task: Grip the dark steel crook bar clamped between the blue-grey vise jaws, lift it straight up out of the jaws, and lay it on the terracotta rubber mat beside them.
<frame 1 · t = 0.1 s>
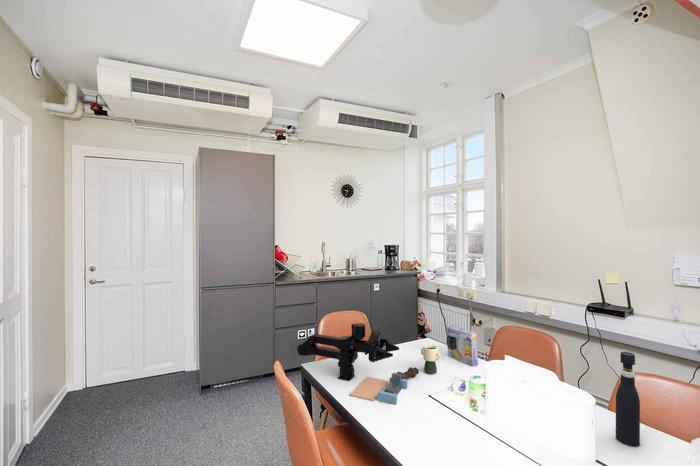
hand: (396, 351, 153), 17 cm above the table, tool horizontal, fingers open, 9 cm apart
black bottle: (627, 441, 114), on the table
mat: (370, 388, 152), on the table
brown oblong lump: (408, 379, 163), on the table
cake pan box: (461, 360, 187), on the table
vise jaws: (393, 393, 147), on the table
crook bar: (393, 394, 147), on the table
character mug: (430, 372, 170), on the table
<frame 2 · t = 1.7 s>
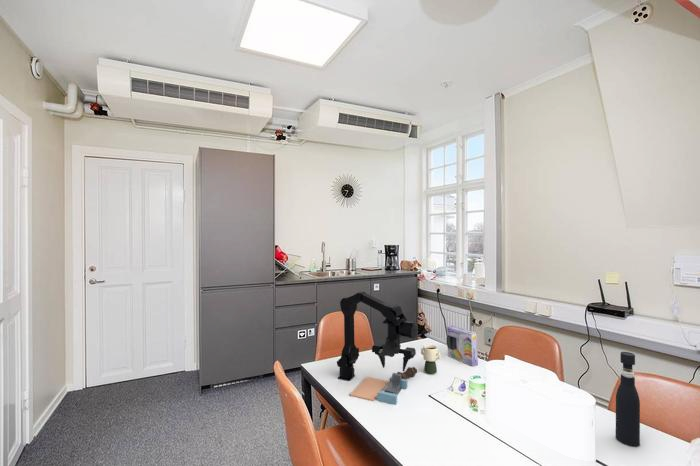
hand: (393, 369, 148), 11 cm above the table, tool pointing down, fingers open, 9 cm apart
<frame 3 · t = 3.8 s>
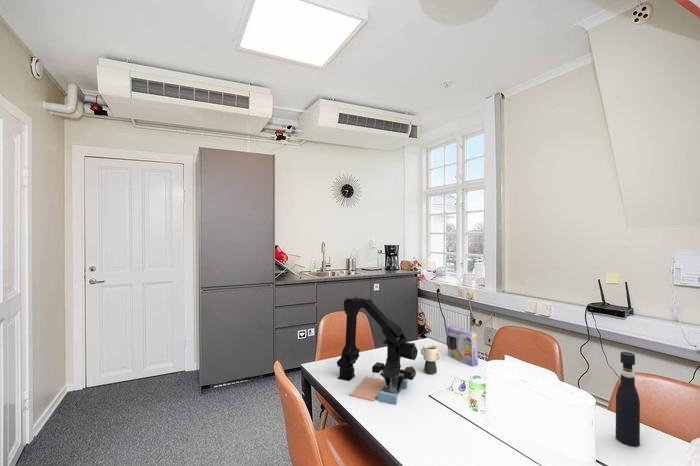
hand: (393, 389, 148), 2 cm above the table, tool pointing down, fingers closed on crook bar, 4 cm apart
crook bar: (393, 394, 147), on the table, touching gripper
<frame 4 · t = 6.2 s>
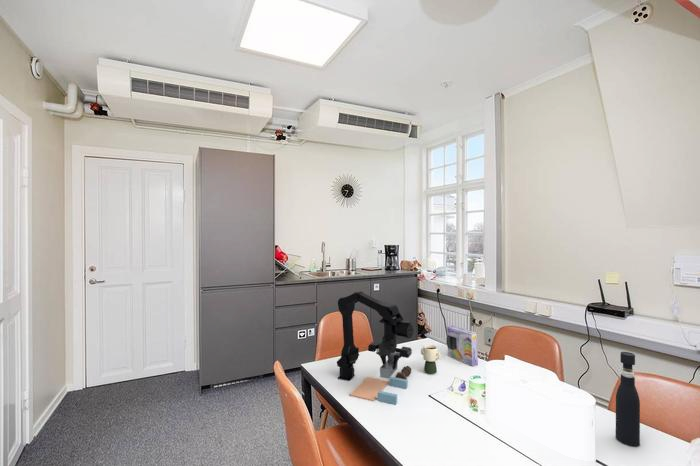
hand: (389, 368, 149), 11 cm above the table, tool pointing down, fingers closed on crook bar, 4 cm apart
crook bar: (388, 372, 148), point 9 cm above the table, touching gripper
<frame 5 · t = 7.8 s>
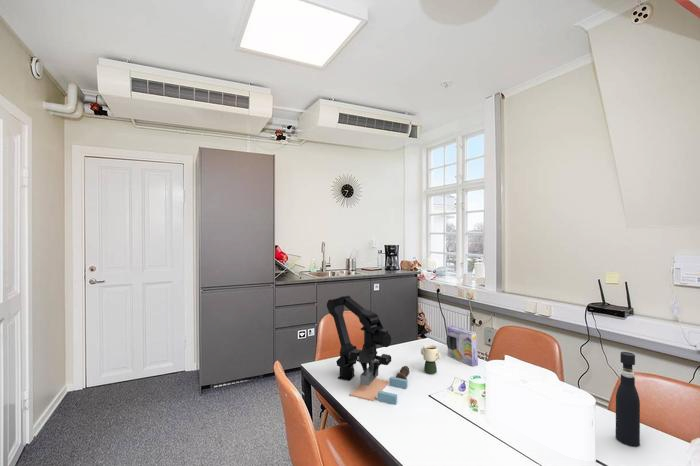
hand: (370, 375, 152), 6 cm above the table, tool pointing down, fingers closed on crook bar, 4 cm apart
crook bar: (369, 379, 152), point 4 cm above the table, touching gripper
when the fingers open (3 cm above the table, at t = 9.0 s): crook bar drops 1 cm, resting on mat.
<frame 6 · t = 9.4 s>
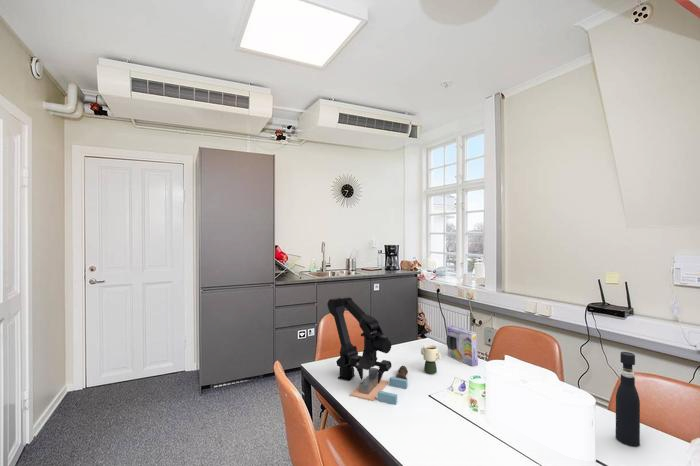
hand: (370, 381, 152), 3 cm above the table, tool pointing down, fingers open, 8 cm apart
crook bar: (369, 388, 152), point 1 cm above the table, touching mat
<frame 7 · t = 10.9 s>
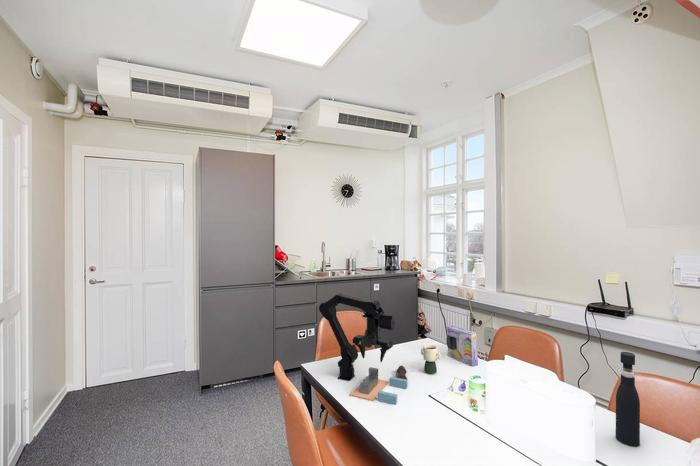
hand: (372, 360, 158), 11 cm above the table, tool pointing down, fingers open, 9 cm apart
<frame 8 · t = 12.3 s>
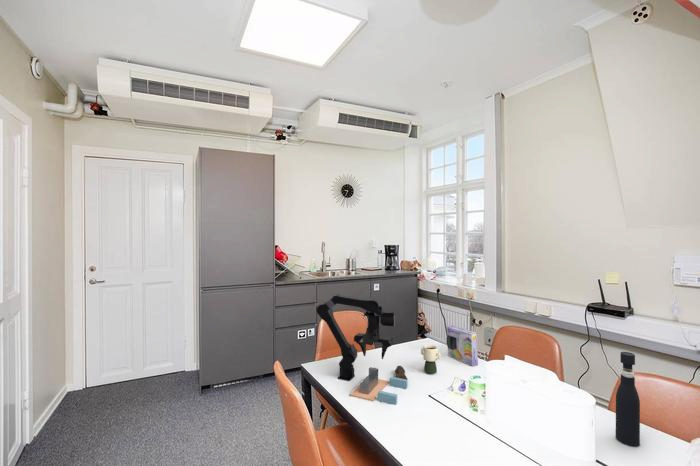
hand: (373, 357, 161), 11 cm above the table, tool pointing down, fingers open, 9 cm apart
at the end: crook bar inside the target area on the mat (0.7 cm from its centre), point 0.6 cm above the mat's base; crook bar touching mat; the gripper is holding nothing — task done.
